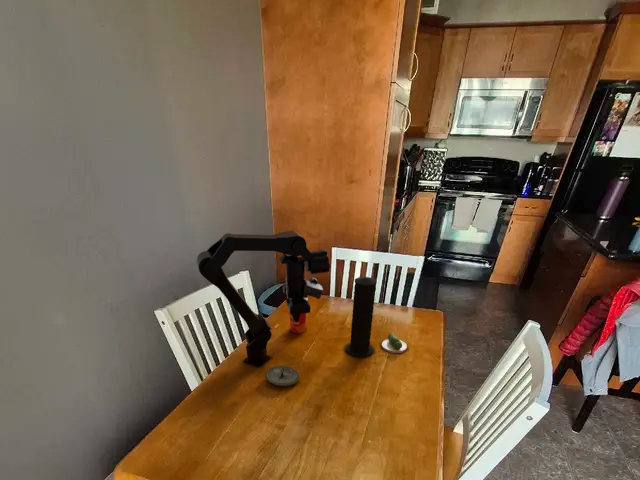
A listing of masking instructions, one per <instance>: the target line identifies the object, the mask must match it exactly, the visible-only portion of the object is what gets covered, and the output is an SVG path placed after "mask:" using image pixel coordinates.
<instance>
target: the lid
mask: <svg viewBox="0 0 640 480" xmlns="http://www.w3.org/2000/svg"><path fill="white" fill-rule="evenodd" d="M265 379H266V380H267V381H268V383H270V384H273V385H275V386H278V387H290V386H293V385H296V384H297V383H298V382H299V380H300V373H299V372H298V371H297V369H295V368H293V367H291V366H287V365H275V366H271V367H270V368H268V369H267V370H266V372H265Z"/></svg>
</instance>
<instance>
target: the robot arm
mask: <svg viewBox="0 0 640 480" xmlns="http://www.w3.org/2000/svg"><path fill="white" fill-rule="evenodd" d="M234 252H277V253H280V254H281V256H279V258H278V261H279V263H281V264H282V265H284V264H285V279H284V280H285V283H284V284H283V285H282V291H283V294H284V295H286V296H287V297H286V298H285V302H286V304H287V308H288V312H289V311H290V314H292V316H293V318H294V321H295V322H299V318H300V314H303V313H306V314H310V313H311V305H310V302H309V301H308V300H306V299H305V298H308V296H309V297H312V298H316V299H317V300H320V299H321V298H322V295H323V292H324V288H323V286H322V285H321V284H320V283H318V280H317V278H315V277H311V278H310V279H308V280H306V276H305V275H306V274H305V273H306V272H308V274H309V275H319V274H325V273H326V274H327V273H329V272H330V269H331V263H330V259H329V256H328V251H327V250H326V249H319V250H313V251H312V250H309V249H308V247H307V240H306V238H304V237H303V236H302V235H301V234H300V233H298V232H297V231H295V230H289V231H288V230H286V231H281V232H278V233H276V234H244V233H243V234H242V233H241V234H237V233H229V232H227V233H224V234H223V235H222V236H221V237H220V239H218V240H217V241H215V242H214V243H213V244H212V245H211V246H209V247H208V248H207V250H205V251H201V252H200V253H199V254H198V255H197V257H196V265H197V267H198V272H199V273H200V274H201V276H202V277H203V278H204V279H205V280H207V282H209V283H210V284H212V285H213V286H214V287H216V288H217V289H218V290H219V291H220V292H221V293H222V295H223V297H225V299H226V300H227V301H228V302H229V304H230V305H231V306H232V307H233V308H234V310H235V312H237V313H238V314H239V316H240V317H241V318H242V319H243V321H244V322H245V324H246V325H247V327H248V329H247V330H246V331H245V332H244V333H243V336H244V338H245V340H246V346H245V349H246V356H247V357H246V358H244V360H243V361H244V362H245V363H247V364H251V365H253V366H256V367H261V366H262V365H264V364H265V363H266V362H268V360H270V359H271V356H270V355H268V350H267V349H268V348H267V346H268V342H269V341H270V340H271V338H272V335H273V334H272V327H271V325H270V324H269V321H268V319H266V318H265V317H264V316H263V314H262V312H261V311H260V312H259V313H256V312H254V311H253V309H252V308H251V307H250V306H249V304H248V303H247V302H246V300H245V299H244V298H243V296H242V295H241V293H240V292H239V291H238V290H237V288H236V287H235V286H234V285H233V283H232V282H231V281H230V279H229V278H228V277H227V275H226V273H225V271H224V268H223V266H225V265H226V263H227V261H228V260H229V259H230V258H231V256H232V254H233V253H234ZM305 271H306V272H305Z"/></svg>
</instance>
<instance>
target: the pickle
mask: <svg viewBox="0 0 640 480" xmlns="http://www.w3.org/2000/svg"><path fill="white" fill-rule="evenodd" d="M381 348H382V349H383V350H384V351H385V352H387V353H392V354H401V353H404V352H406V351H407V349H408V345H407V343H406V342H405V341H404V340H401V339H399V337H398V335H396V334H395V333H393V332H391V333H389V334H388V335H387V338H386V339H384V340H383V341H382V342H381Z"/></svg>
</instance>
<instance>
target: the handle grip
mask: <svg viewBox="0 0 640 480" xmlns="http://www.w3.org/2000/svg"><path fill="white" fill-rule="evenodd" d="M376 285H377V280H376V279H375V278H373V277H370V276H359V277H356V278H354V287H353V291H354V292H353V301H352V303H353V304H352V316H351V317H352V318H351V327H350V329H351V330H350V340H349V341H350V342H349V343H348V344H347V345H346V346H345V352H346V353H347V355H349V356H352V357H355V358H367V357H370V356H372V355H373V354H374V351H375V350H374V348H373V346H372V345H370V344H371V335H372V326H373V319H374V315H373V314H374V308H375V306H374V305H375V300H376V299H375V298H376V297H375V296H376V290H377V288H376Z"/></svg>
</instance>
